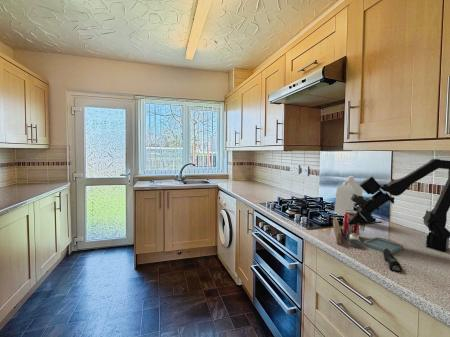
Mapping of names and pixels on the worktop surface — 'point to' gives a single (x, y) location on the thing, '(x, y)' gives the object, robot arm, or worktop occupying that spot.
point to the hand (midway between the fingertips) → (348, 222)
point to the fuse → (353, 236)
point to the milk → (346, 195)
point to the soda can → (347, 218)
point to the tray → (382, 245)
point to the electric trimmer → (392, 261)
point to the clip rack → (338, 234)
